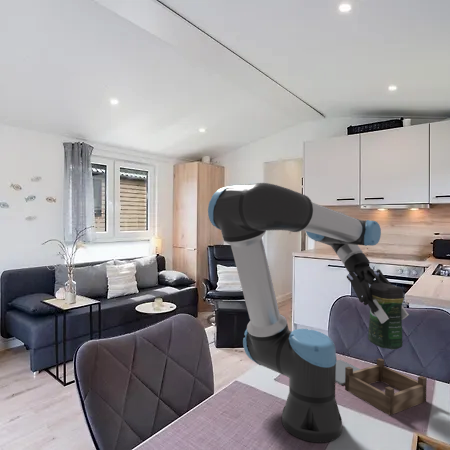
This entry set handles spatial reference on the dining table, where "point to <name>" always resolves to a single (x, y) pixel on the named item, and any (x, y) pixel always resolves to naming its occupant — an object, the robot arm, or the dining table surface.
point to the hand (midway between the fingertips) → (395, 319)
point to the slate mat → (342, 371)
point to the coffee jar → (392, 305)
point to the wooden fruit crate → (388, 400)
